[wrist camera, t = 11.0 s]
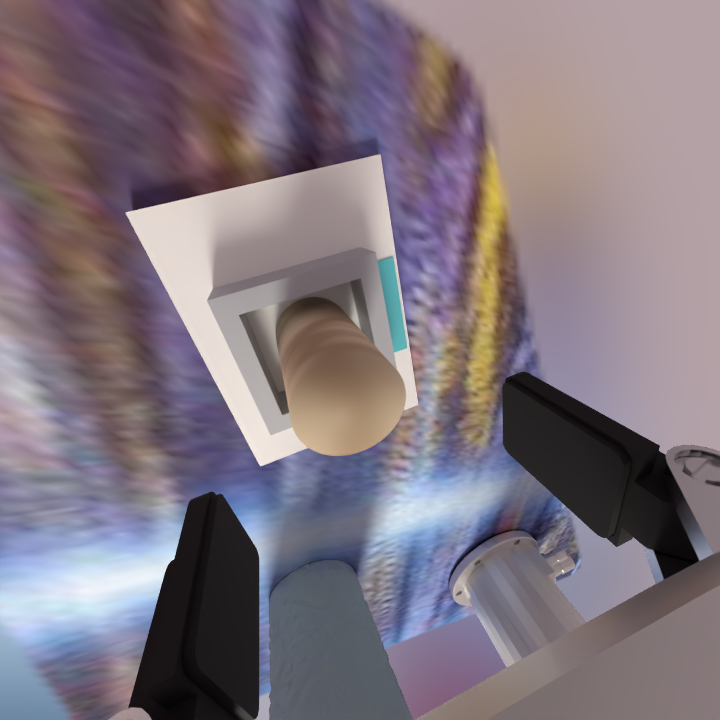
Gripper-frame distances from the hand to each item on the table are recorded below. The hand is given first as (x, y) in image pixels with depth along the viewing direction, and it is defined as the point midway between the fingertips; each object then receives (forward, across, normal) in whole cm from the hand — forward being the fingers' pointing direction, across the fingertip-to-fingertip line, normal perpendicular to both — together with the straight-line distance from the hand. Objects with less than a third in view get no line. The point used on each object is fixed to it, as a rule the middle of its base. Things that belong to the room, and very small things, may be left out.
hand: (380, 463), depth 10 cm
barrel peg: (+10, 0, -1) cm, 10 cm away
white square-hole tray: (+11, 0, -1) cm, 11 cm away
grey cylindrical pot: (+12, +7, +25) cm, 29 cm away
